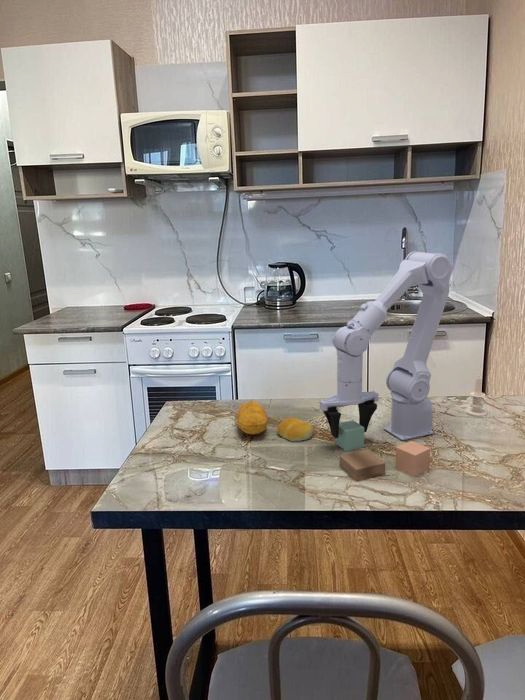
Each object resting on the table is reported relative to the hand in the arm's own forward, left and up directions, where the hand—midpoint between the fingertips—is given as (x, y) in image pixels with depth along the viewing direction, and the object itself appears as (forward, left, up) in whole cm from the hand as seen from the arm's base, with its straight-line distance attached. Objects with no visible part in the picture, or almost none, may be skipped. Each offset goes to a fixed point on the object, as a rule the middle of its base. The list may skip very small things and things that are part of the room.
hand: (349, 433), depth 123 cm
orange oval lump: (+18, -18, -3) cm, 26 cm away
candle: (-40, -2, -3) cm, 40 cm away
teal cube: (0, 0, -3) cm, 3 cm away
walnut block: (+4, +12, -3) cm, 13 cm away
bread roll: (+9, -11, -3) cm, 15 cm away
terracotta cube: (-6, +16, -3) cm, 17 cm away
